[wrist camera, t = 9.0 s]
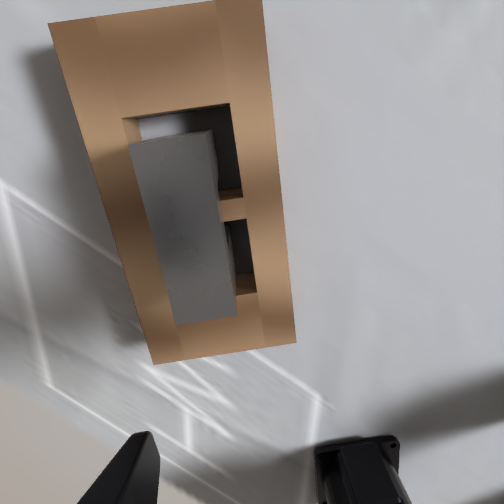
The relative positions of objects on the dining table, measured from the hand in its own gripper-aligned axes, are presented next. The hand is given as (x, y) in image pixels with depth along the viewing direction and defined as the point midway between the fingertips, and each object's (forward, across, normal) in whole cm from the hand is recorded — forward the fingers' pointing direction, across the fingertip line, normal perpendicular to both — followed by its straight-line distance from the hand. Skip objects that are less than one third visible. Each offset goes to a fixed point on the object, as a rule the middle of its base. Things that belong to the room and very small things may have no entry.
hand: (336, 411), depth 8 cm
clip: (+12, +4, -3) cm, 13 cm away
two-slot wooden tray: (+12, +4, -3) cm, 12 cm away
